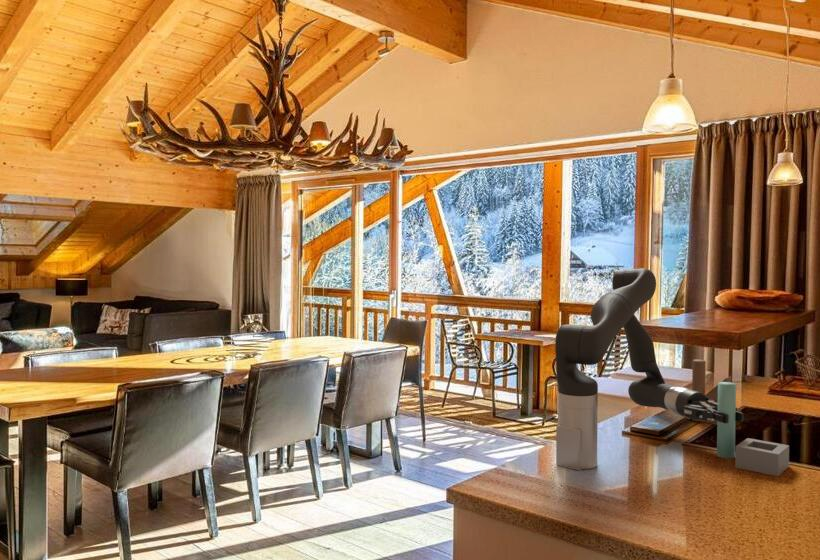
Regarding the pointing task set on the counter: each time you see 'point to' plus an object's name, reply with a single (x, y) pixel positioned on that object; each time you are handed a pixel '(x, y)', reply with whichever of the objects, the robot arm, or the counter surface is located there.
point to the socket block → (762, 456)
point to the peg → (728, 429)
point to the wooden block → (699, 383)
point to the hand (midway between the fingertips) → (734, 418)
